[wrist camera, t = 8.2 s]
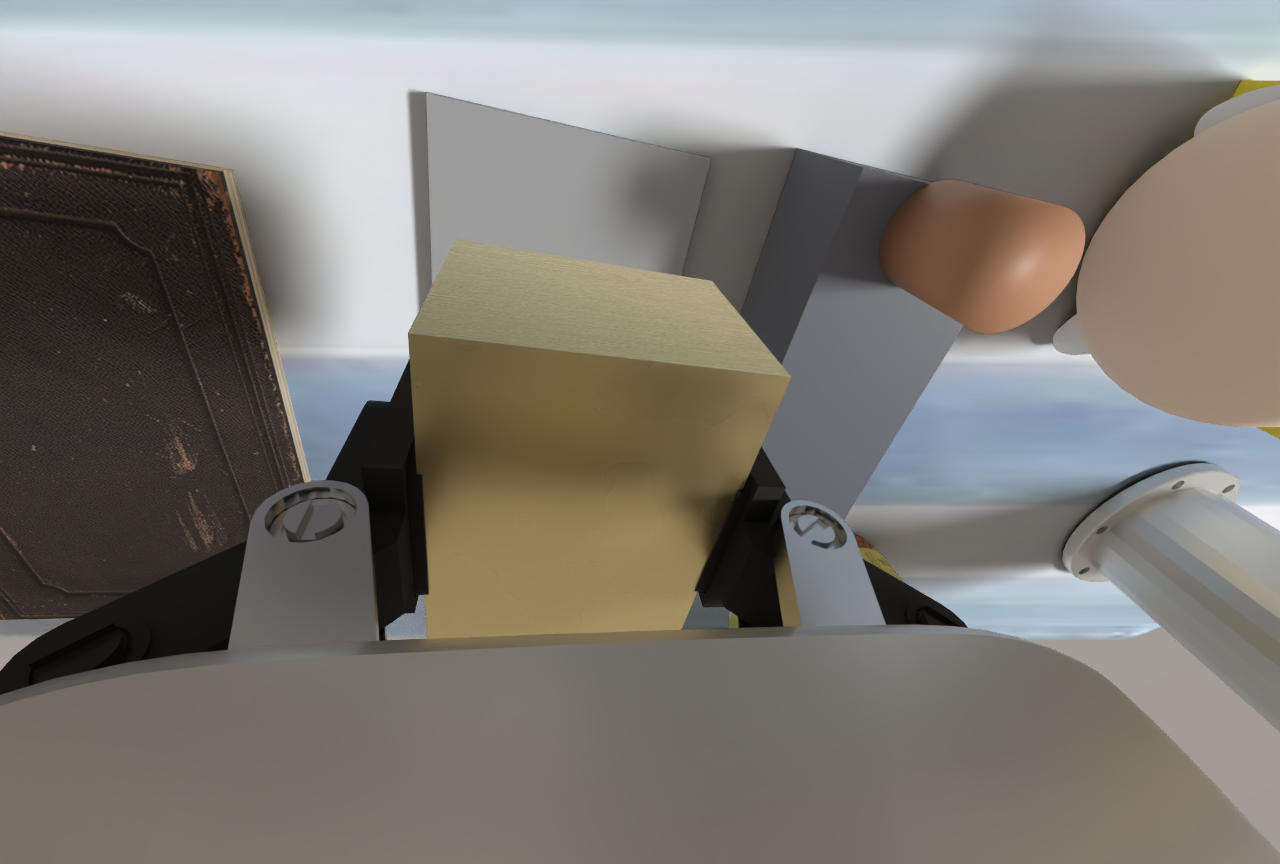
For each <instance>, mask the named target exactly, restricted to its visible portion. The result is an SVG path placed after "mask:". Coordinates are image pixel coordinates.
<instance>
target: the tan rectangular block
mask: <svg viewBox="0 0 1280 864" xmlns="http://www.w3.org/2000/svg"><path fill="white" fill-rule="evenodd" d="M408 339H409V355H410V371H411V387H412V403H413V419H414V435H415V451H416V467H417V474H422V482H423V500H424V518H425V537H426V555H427V573H428V591H429V595H425V611H426V627H427V639H436V638H462V637H489V636H515V635H541V634H569V633H599V632H628V631H658V630H681V629H682V627H683V624H684V622H685V620H686V617H687V615H688V613H689V611H690V608H691V606H692V604H693V601H694V599H695V597H696V595H697V592H695V589H696V587H697V585H698V582H699V580H700V578H701V575H702V573H703V571H704V568H705V566H706V564H707V561H708V559H709V557H710V554H711V552H712V550H713V548H714V545H715V543H716V541H717V538H718V536H719V534H720V531H721V529H722V527H723V524H724V522H725V520H726V517H727V515H728V513H729V510H730V508H731V506H732V503H733V501H734V499H735V496H736V494H737V492H738V489H741V490H742V489H743V487H744V485H745V482H746V480H747V478H748V475H749V473H750V471H751V469H752V466H753V464H754V462H755V459H756V457H757V455H758V453H759V450H760V448H761V446H762V443H763V441H764V439H765V436H766V434H767V432H768V430H769V427H770V425H771V423H772V420H773V418H774V416H775V414H776V411H777V409H778V407H779V404H780V402H781V400H782V398H783V395H784V393H785V391H786V388H787V386H788V384H789V382H790V379H791V376H790V375H789V374H788V372H787V371H786V370H785V369H784V368H783V366H782V365H781V364H780V363H779V361H778V360H777V359H776V358H775V357H774V355H773V354H772V353H771V352H770V351H769V349H768V348H767V347H766V346H765V345H764V343H763V342H762V341H761V340H760V338H759V337H758V336H757V335H756V334H755V332H754V331H753V330H752V329H751V328H750V326H749V325H748V324H747V323H746V322H745V320H744V319H743V318H742V317H741V315H740V314H739V313H738V312H737V311H736V309H735V308H734V307H733V306H732V305H731V303H730V302H729V301H728V300H727V299H726V297H725V296H724V295H723V294H722V293H721V291H720V290H719V289H718V288H717V286H716V285H715V284H714V283H713V282H712V281H709V280H703V279H697V278H691V277H685V276H679V275H673V274H667V273H661V272H654V271H648V270H642V269H636V268H630V267H624V266H618V265H612V264H606V263H600V262H593V261H587V260H581V259H575V258H569V257H563V256H557V255H551V254H545V253H538V252H532V251H526V250H520V249H514V248H508V247H502V246H496V245H490V244H483V243H477V242H471V241H465V240H459V239H455V241H454V243H453V245H452V247H451V249H450V251H449V253H448V255H447V257H446V259H445V261H444V263H443V265H442V267H441V269H440V271H439V273H438V275H437V277H436V279H435V281H434V283H433V285H432V287H431V289H430V291H429V293H428V295H427V297H426V299H425V301H424V302H423V304H422V306H421V308H420V310H419V312H418V314H417V316H416V318H415V320H414V322H413V324H412V326H411V328H410V330H409V332H408Z"/></svg>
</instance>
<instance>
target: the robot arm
mask: <svg viewBox="0 0 1280 864" xmlns="http://www.w3.org/2000/svg"><path fill="white" fill-rule="evenodd" d="M785 489H786V487H785V485H784V484H783V482H782V480H781V478H780V477H779V475H778V473H777V472H776V470H775V468H774V467H773V465H772V463H771V462H770V460H769V458H768V457H767V455H766V453H765V452H764V450H763V448H762V446H761V448H760V450H759V453H758V455H757V457H756V459H755V462H754V464H753V466H752V469H751V471H750V473H749V475H748V478H747V480H746V482H745V485H744V487H743V489H742V490H741V489H738V492H737V494H736V496H735V499H734V501H733V503H732V506H731V508H730V510H729V513H728V515H727V517H726V520H725V522H724V524H723V527H722V529H721V531H720V534H719V536H718V538H717V541H716V543H715V545H714V548H713V550H712V552H711V554H710V557H709V559H708V561H707V564H706V566H705V568H704V571H703V573H702V575H701V578H700V580H699V582H698V585H697V587H696V589H695V592H699V595H700V599H701V602H702V605H703V607H725V608H726V609H728V610H729V611H730V612H729V628H721V629H690V630H658V631H628V632H599V633H569V634H541V635H515V636H489V637H462V638H436V639H410V640H387V635H386V626H387V625H388V624H390V623H391V622H393V621H394V620H396V619H397V618H399V617H400V616H401V615H403V614H404V613H415V609H416V604H417V600H418V596H419V595H429V591H428V573H427V555H426V537H425V518H424V500H423V482H422V474H417V467H416V451H415V435H414V419H413V403H412V387H411V371H410V359H409V361H408V363H407V366H406V368H405V370H404V372H403V374H402V377H401V379H400V381H399V383H398V386H397V388H396V390H395V392H394V394H393V397H392V399H391V401H390V402H384V401H371V400H370V401H367V403H366V404H365V406H364V407H363V409H362V411H361V413H360V415H359V417H358V419H357V421H356V423H355V425H354V427H353V429H352V430H351V432H350V434H349V436H348V438H347V440H346V442H345V444H344V446H343V448H342V450H341V452H340V453H339V455H338V457H337V459H336V461H335V463H334V465H333V467H332V469H331V471H330V473H329V475H328V476H327V478H326V480H322V481H310V482H305V483H301V484H296V485H294V486H291V487H288V488H286V489H283V490H281V491H279V492H277V493H276V494H274V495H272V496H271V497H269V498H268V499H266V500H265V501H264V502H263V503H262V504H261V505H260V506H259V507H258V508H257V509H256V511H255V513H254V515H253V517H252V520H251V522H250V528H249V534H248V539H247V540H246V541H244V542H242V543H240V544H238V545H235V546H233V547H231V548H229V549H227V550H224V551H222V552H220V553H218V554H216V555H213V556H211V557H209V558H207V559H205V560H202V561H200V562H198V563H196V564H194V565H191V566H189V567H187V568H185V569H183V570H180V571H178V572H176V573H174V574H172V575H169V576H167V577H165V578H163V579H161V580H158V581H156V582H154V583H152V584H150V585H147V586H145V587H143V588H141V589H139V590H136V591H134V592H132V593H130V594H128V595H125V596H123V597H121V598H119V599H117V600H114V601H112V602H110V603H108V604H106V605H103V606H101V607H99V608H97V609H95V610H92V611H90V612H88V613H86V614H84V615H81V616H79V617H77V618H75V619H73V620H70V621H68V622H66V623H64V624H62V625H60V626H58V627H57V628H55V629H53V630H51V631H49V632H47V633H45V634H44V635H42V636H40V637H38V638H37V639H35V640H34V641H33V642H31V643H30V644H29V645H27V646H26V647H25V648H24V649H22V650H21V651H20V652H18V653H17V654H16V655H14V656H13V658H12V659H11V660H10V661H9V662H8V663H7V664H6V666H4V668H3V669H2V670H1V671H0V864H1280V853H1279V852H1278V851H1277V850H1276V849H1275V848H1274V846H1273V845H1271V843H1270V842H1269V841H1268V840H1267V839H1266V838H1265V837H1264V836H1263V835H1262V834H1261V833H1260V832H1259V830H1258V829H1257V828H1256V827H1255V826H1254V825H1253V824H1252V823H1251V822H1250V821H1249V820H1248V819H1247V818H1246V817H1245V815H1243V813H1242V812H1241V811H1240V810H1239V809H1238V808H1237V807H1236V806H1235V805H1234V804H1233V803H1232V802H1231V800H1230V799H1229V798H1228V797H1227V796H1226V795H1225V794H1224V793H1223V792H1222V791H1221V790H1220V789H1219V788H1218V787H1217V786H1216V785H1215V784H1214V782H1213V781H1212V780H1211V779H1210V778H1209V777H1208V776H1207V775H1206V774H1205V773H1204V772H1203V771H1202V770H1201V769H1200V768H1199V767H1198V766H1197V765H1196V764H1195V763H1194V762H1193V761H1192V760H1191V759H1190V757H1189V756H1188V755H1187V754H1186V753H1185V752H1184V751H1183V750H1182V749H1181V748H1180V747H1179V746H1178V745H1177V744H1176V743H1175V742H1174V741H1173V740H1172V739H1171V738H1170V737H1169V736H1168V735H1167V734H1166V733H1165V732H1164V731H1163V730H1162V729H1161V728H1160V727H1159V726H1158V725H1157V724H1156V723H1155V722H1154V721H1153V720H1152V719H1151V718H1150V717H1149V716H1148V715H1147V714H1146V713H1145V712H1144V711H1142V710H1141V709H1140V708H1139V707H1138V706H1137V705H1136V704H1135V703H1134V702H1133V701H1132V700H1131V699H1130V698H1128V697H1127V696H1126V695H1125V694H1124V693H1123V692H1122V691H1121V690H1120V689H1119V688H1118V687H1117V686H1115V685H1114V684H1113V683H1112V682H1111V681H1109V680H1108V679H1107V678H1106V677H1104V676H1103V675H1102V674H1100V673H1099V672H1098V671H1096V670H1094V669H1093V668H1091V667H1090V666H1088V665H1086V664H1084V663H1082V662H1080V661H1078V660H1076V659H1074V658H1072V657H1070V656H1068V655H1066V654H1064V653H1061V652H1059V651H1057V650H1054V649H1051V648H1048V647H1046V646H1043V645H1040V644H1037V643H1034V642H1031V641H1028V640H1025V639H1022V638H1019V637H1015V636H1011V635H1006V634H1001V633H997V632H992V631H987V630H981V629H973V628H968V627H967V626H966V625H965V623H964V622H963V621H962V620H961V619H960V618H958V617H957V616H956V615H955V614H954V613H953V612H952V611H950V610H949V609H947V608H946V607H944V606H943V605H942V604H940V603H938V602H936V601H935V600H933V599H931V598H930V597H928V596H926V595H924V594H923V593H921V592H919V591H918V590H916V589H914V588H912V587H911V586H909V585H907V584H905V583H904V582H902V581H900V580H899V579H897V578H895V577H893V576H892V575H890V574H888V573H887V572H885V571H883V570H881V569H880V568H878V567H876V566H875V565H873V564H871V563H869V562H868V561H866V560H864V559H863V558H862V556H861V553H860V551H859V548H858V545H857V542H856V539H855V536H854V534H853V532H852V530H851V529H850V527H849V525H848V524H847V523H846V522H845V521H844V520H843V519H842V518H841V517H840V516H839V515H837V514H836V513H835V512H833V511H832V510H830V509H828V508H826V507H825V506H823V505H820V504H817V503H814V502H811V501H805V500H795V501H791V500H790V498H789V496H788V495H787V493H786V491H785ZM1238 493H1239V482H1238V480H1237V477H1236V476H1234V475H1233V474H1231V473H1230V472H1228V471H1227V470H1225V469H1223V468H1222V467H1219V466H1217V465H1214V464H1207V463H1198V464H1188V465H1183V466H1179V467H1175V468H1171V469H1168V470H1165V471H1163V472H1160V473H1157V474H1154V475H1152V476H1150V477H1148V478H1146V479H1144V480H1141V481H1139V482H1137V483H1135V484H1134V485H1132V486H1130V487H1128V488H1126V489H1125V490H1123V491H1121V492H1120V493H1118V494H1117V495H1115V496H1114V497H1112V498H1111V499H1109V500H1108V501H1106V502H1105V503H1104V504H1102V505H1101V506H1100V507H1098V508H1097V509H1096V510H1095V511H1093V512H1092V513H1091V514H1090V515H1089V516H1088V517H1087V518H1086V519H1085V520H1084V521H1083V522H1082V523H1081V524H1080V525H1079V526H1078V527H1077V528H1076V530H1075V531H1074V532H1073V533H1072V535H1071V536H1070V538H1069V539H1068V541H1067V543H1066V545H1065V548H1064V550H1063V559H1062V561H1063V563H1064V566H1065V567H1066V568H1067V569H1068V570H1069V571H1070V572H1071V573H1072V574H1073V575H1074V576H1075V577H1077V578H1079V579H1081V580H1085V581H1090V582H1103V581H1111V582H1112V583H1113V584H1114V585H1115V586H1116V587H1117V588H1119V589H1120V590H1121V591H1122V592H1123V593H1124V594H1125V595H1126V596H1127V597H1129V598H1130V599H1131V600H1132V601H1133V602H1134V603H1135V604H1136V605H1138V606H1139V607H1140V608H1141V609H1142V610H1143V611H1144V612H1145V613H1147V614H1148V615H1149V616H1150V617H1151V618H1152V619H1153V620H1154V621H1155V622H1157V623H1158V624H1159V625H1160V626H1161V627H1162V628H1163V629H1165V630H1166V631H1167V632H1168V633H1169V634H1170V635H1171V636H1172V637H1173V638H1175V639H1176V640H1177V641H1178V642H1179V643H1180V644H1181V645H1182V646H1183V647H1185V648H1186V649H1187V650H1188V651H1189V652H1190V653H1191V654H1192V655H1194V656H1195V657H1196V658H1197V659H1198V660H1199V661H1200V662H1201V663H1202V664H1204V665H1205V666H1206V667H1207V668H1208V669H1209V670H1210V671H1211V672H1213V673H1214V674H1215V675H1216V676H1217V677H1218V678H1220V680H1222V681H1223V682H1224V683H1225V684H1226V685H1227V686H1228V687H1230V688H1231V689H1232V690H1233V691H1234V692H1235V693H1236V694H1237V695H1238V696H1240V697H1241V698H1242V699H1243V700H1244V701H1245V702H1246V703H1247V704H1248V705H1249V706H1251V707H1252V708H1253V709H1254V710H1255V711H1256V712H1258V714H1260V715H1261V716H1262V717H1263V718H1264V719H1265V720H1266V721H1267V722H1269V723H1270V724H1271V725H1272V726H1273V727H1274V728H1275V729H1276V730H1278V731H1279V732H1280V531H1279V530H1277V529H1275V528H1274V527H1272V526H1270V525H1269V524H1267V523H1266V522H1264V521H1262V520H1261V519H1259V518H1258V517H1256V516H1254V515H1253V514H1251V513H1250V512H1248V511H1246V510H1245V509H1243V508H1241V507H1240V506H1238V505H1237V504H1235V503H1234V502H1235V501H1236V498H1237V496H1238Z"/></svg>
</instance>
